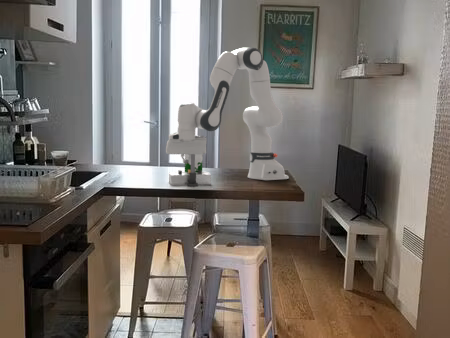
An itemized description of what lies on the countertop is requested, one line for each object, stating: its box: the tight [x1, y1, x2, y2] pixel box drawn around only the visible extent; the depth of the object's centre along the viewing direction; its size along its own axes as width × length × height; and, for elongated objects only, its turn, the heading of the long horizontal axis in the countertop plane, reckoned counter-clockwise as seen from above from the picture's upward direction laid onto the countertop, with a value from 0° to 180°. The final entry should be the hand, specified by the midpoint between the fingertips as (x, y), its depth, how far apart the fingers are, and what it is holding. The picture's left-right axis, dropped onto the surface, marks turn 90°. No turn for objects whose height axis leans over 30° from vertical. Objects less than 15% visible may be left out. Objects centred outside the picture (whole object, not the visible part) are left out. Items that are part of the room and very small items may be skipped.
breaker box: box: [168, 169, 212, 186], centre depth 252 cm, size 20×8×7 cm, turn 105°
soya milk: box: [184, 154, 204, 172], centre depth 262 cm, size 9×9×20 cm
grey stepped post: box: [186, 154, 199, 188], centre depth 244 cm, size 5×5×16 cm
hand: (186, 163), depth 250 cm, fingers closed
